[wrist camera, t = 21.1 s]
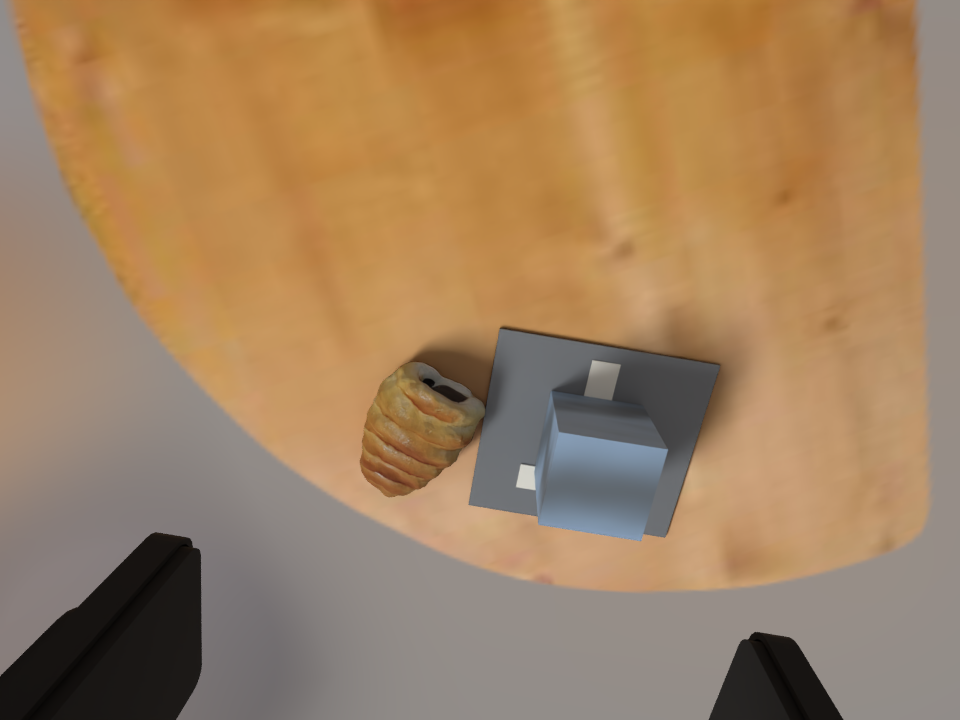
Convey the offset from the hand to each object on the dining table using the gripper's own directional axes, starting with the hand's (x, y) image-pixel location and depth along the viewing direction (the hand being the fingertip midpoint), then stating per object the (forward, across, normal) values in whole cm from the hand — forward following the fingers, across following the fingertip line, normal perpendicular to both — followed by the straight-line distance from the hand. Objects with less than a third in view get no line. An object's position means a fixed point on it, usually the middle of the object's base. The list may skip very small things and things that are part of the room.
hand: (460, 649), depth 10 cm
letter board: (+26, -8, +8) cm, 28 cm away
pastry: (+27, +4, +9) cm, 28 cm away
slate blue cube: (+26, -8, +8) cm, 28 cm away
